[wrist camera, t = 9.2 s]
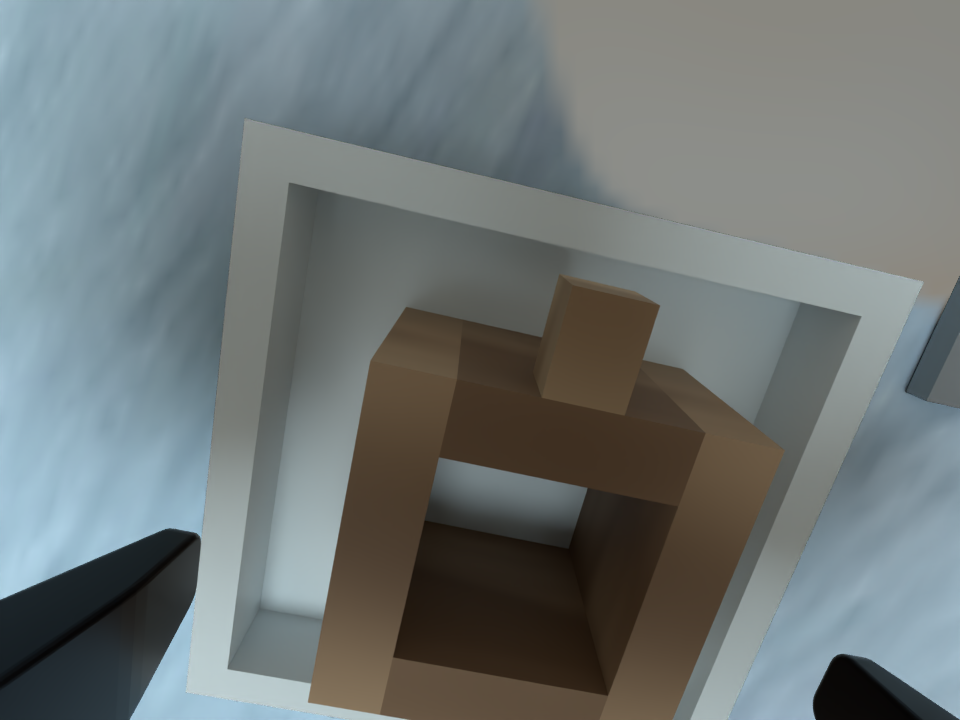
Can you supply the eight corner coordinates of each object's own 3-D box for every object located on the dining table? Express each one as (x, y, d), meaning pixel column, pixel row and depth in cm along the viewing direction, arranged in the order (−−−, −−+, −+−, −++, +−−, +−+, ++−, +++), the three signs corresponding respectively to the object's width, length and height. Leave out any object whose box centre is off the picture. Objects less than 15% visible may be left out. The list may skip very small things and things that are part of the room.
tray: (835, 266, 12) (923, 281, 9) (666, 689, 15) (700, 778, 12) (293, 136, 11) (244, 117, 9) (233, 611, 14) (185, 692, 12)
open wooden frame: (602, 599, 13) (654, 762, 9) (358, 553, 13) (307, 702, 9) (708, 296, 11) (829, 344, 7) (421, 229, 11) (391, 243, 7)
